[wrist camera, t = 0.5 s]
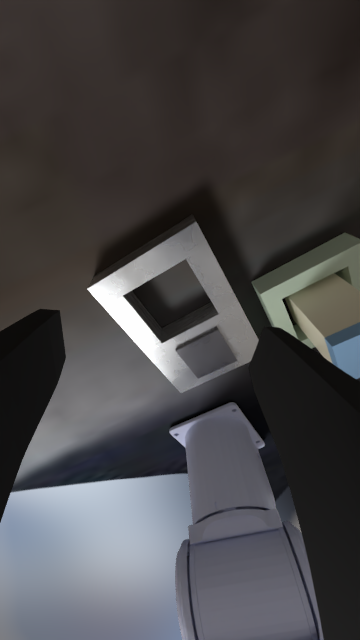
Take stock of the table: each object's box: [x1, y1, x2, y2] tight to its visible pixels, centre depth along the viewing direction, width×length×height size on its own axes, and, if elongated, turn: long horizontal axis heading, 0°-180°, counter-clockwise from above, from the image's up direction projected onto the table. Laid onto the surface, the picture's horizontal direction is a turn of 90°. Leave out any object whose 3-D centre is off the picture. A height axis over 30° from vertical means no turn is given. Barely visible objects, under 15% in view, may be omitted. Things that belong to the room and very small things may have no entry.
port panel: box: [87, 214, 259, 393], centre depth 19 cm, size 12×8×2 cm, turn 30°
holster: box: [251, 233, 360, 348], centre depth 19 cm, size 7×7×2 cm
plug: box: [285, 273, 360, 379], centre depth 17 cm, size 4×4×7 cm
